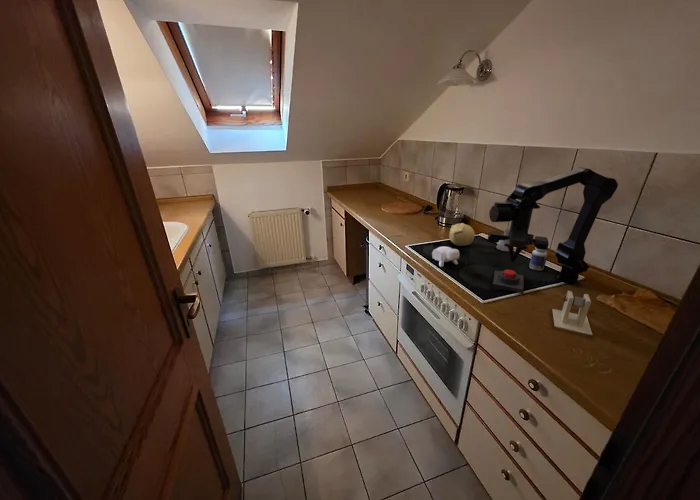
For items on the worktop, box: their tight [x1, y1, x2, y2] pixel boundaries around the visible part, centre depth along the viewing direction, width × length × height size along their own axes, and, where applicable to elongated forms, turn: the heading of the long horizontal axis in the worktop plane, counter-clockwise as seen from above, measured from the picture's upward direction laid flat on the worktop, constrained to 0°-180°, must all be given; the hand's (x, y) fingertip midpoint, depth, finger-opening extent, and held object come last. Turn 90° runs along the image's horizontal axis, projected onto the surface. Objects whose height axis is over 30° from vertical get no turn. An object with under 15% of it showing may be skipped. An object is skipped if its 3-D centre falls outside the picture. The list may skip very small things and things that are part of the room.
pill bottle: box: [529, 246, 548, 271], centre depth 123 cm, size 5×5×10 cm
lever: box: [563, 295, 584, 307], centre depth 92 cm, size 13×3×3 cm, turn 152°
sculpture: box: [448, 222, 475, 247], centre depth 150 cm, size 11×12×11 cm
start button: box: [503, 269, 517, 278], centre depth 111 cm, size 4×4×2 cm
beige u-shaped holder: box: [552, 290, 593, 336], centre depth 89 cm, size 10×9×10 cm
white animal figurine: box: [431, 245, 461, 268], centre depth 130 cm, size 9×8×15 cm
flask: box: [496, 227, 510, 252], centre depth 142 cm, size 7×7×10 cm
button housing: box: [491, 270, 525, 294], centre depth 112 cm, size 12×10×4 cm
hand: (512, 261), depth 109 cm, fingers closed
